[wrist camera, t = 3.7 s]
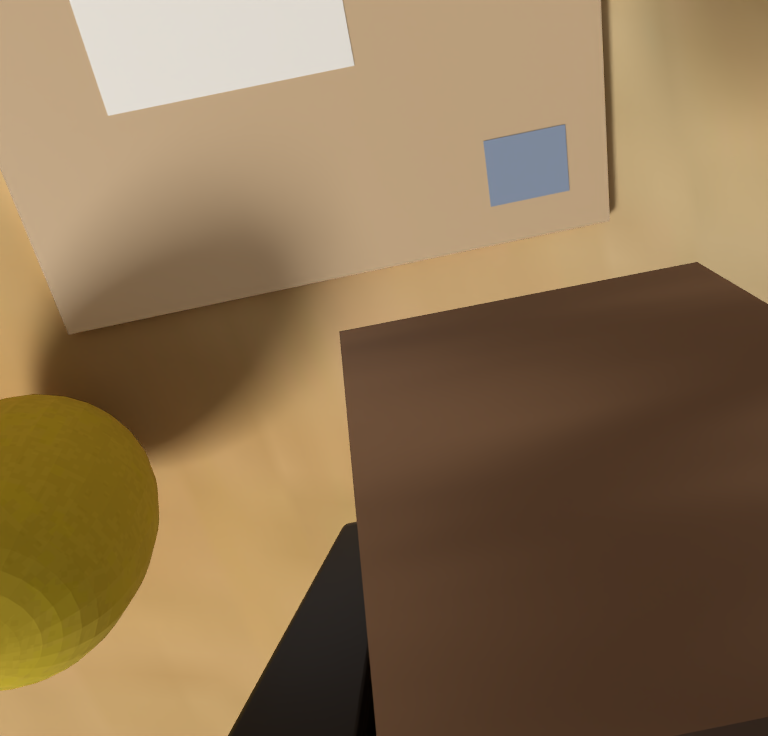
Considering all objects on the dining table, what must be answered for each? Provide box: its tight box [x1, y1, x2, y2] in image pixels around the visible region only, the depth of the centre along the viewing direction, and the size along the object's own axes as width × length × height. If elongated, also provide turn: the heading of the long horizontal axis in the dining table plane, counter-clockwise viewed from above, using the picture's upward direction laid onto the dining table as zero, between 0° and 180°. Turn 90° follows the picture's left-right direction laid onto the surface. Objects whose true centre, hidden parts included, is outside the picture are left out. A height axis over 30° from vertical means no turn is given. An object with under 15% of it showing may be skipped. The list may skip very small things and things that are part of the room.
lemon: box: [0, 394, 159, 691], centre depth 16 cm, size 6×6×8 cm
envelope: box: [0, 0, 610, 334], centre depth 16 cm, size 14×10×1 cm
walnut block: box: [340, 262, 768, 736], centre depth 7 cm, size 4×4×6 cm
